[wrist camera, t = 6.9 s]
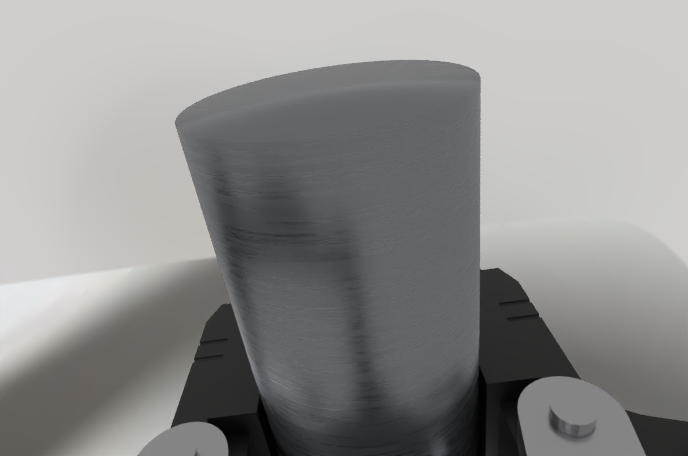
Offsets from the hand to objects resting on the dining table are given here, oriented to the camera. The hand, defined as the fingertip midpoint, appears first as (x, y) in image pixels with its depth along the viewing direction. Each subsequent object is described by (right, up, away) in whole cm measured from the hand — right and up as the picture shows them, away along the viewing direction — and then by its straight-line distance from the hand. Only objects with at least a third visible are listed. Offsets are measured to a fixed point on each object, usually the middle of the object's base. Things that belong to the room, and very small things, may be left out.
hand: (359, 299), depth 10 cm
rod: (+1, -7, +1) cm, 8 cm away
